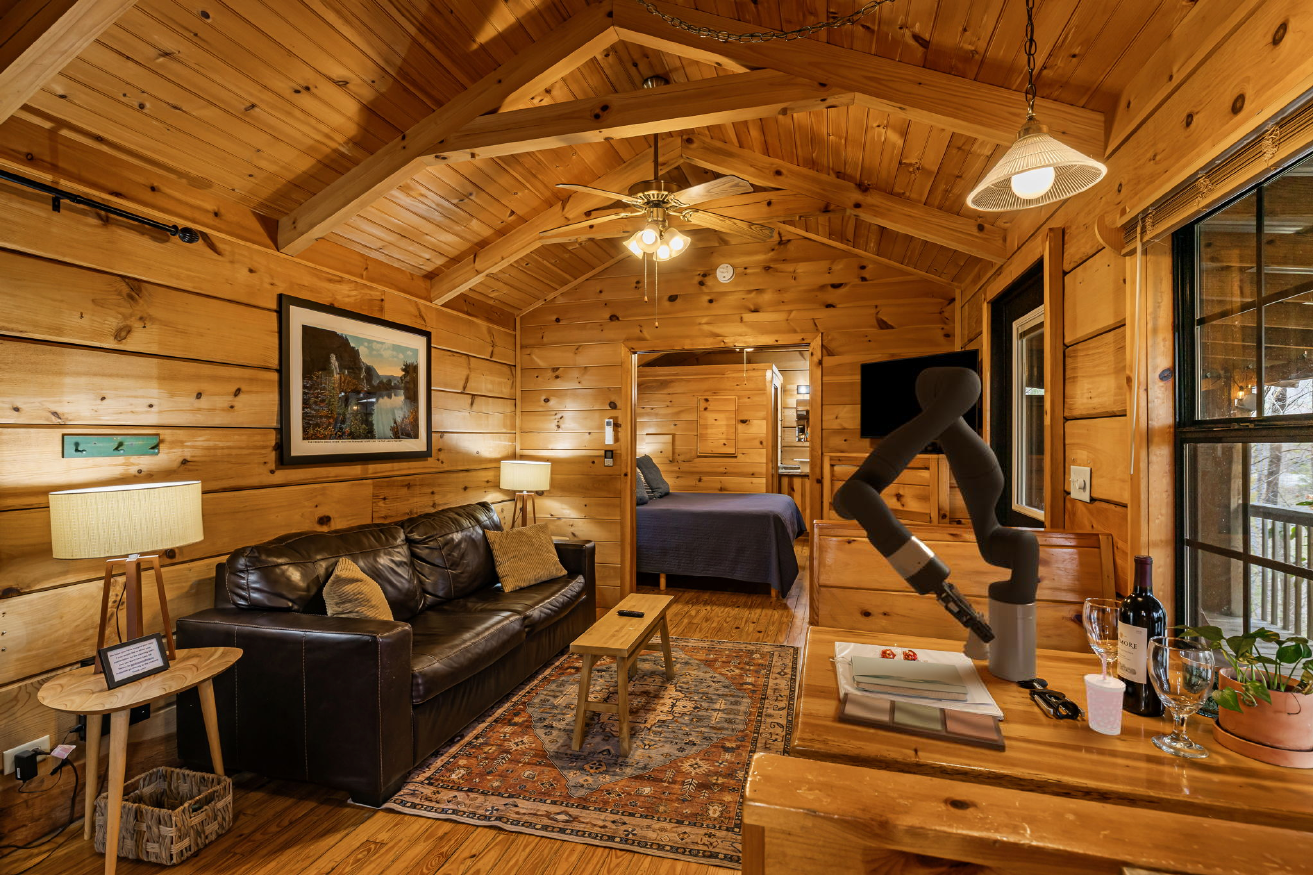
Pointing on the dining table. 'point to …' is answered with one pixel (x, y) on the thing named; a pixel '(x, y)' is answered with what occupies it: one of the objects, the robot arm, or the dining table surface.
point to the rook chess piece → (976, 643)
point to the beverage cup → (1104, 702)
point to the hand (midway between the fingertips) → (988, 636)
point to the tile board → (922, 720)
